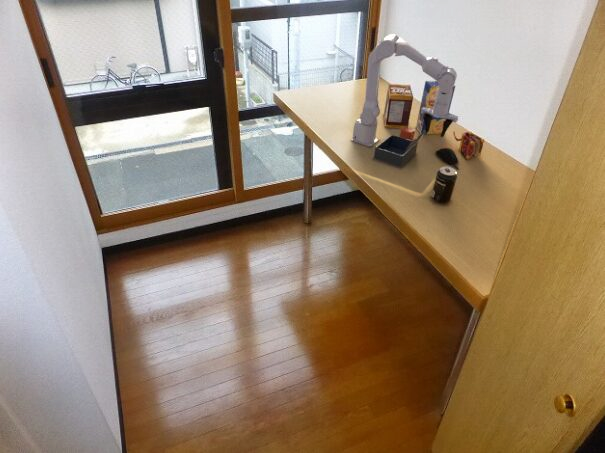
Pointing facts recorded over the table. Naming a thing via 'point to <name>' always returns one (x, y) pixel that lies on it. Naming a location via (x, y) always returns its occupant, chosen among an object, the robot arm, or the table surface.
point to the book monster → (470, 144)
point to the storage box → (394, 151)
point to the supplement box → (398, 106)
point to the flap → (414, 142)
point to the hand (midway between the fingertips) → (434, 134)
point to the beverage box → (428, 102)
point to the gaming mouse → (447, 156)
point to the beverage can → (444, 185)
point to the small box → (407, 133)
